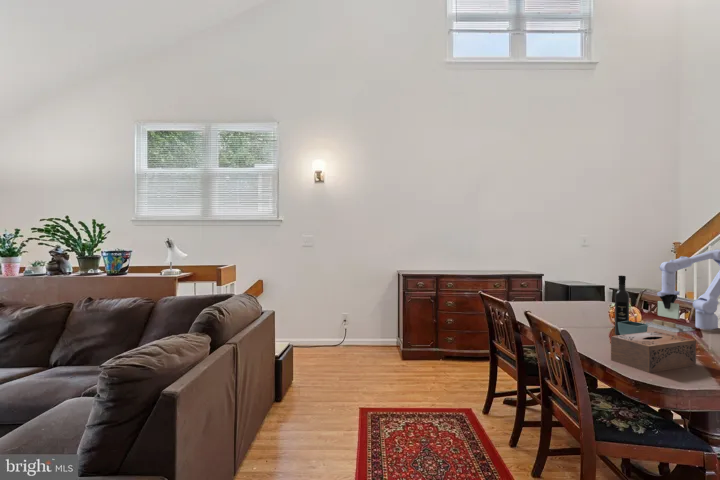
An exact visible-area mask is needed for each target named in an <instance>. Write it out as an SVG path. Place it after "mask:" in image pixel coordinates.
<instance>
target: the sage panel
mask: <svg viewBox="0 0 720 480" xmlns="http://www.w3.org/2000/svg"><path fill="white" fill-rule="evenodd" d="M657 316H659V317H663V318H664V317H665V318H669V319H675V320H680V303H675V302H674V303H671V305H670V309H666V308H665V307H664V304H663V301H662V300H658V301H657Z"/></svg>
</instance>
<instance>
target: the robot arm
mask: <svg viewBox="0 0 720 480" xmlns="http://www.w3.org/2000/svg"><path fill="white" fill-rule="evenodd" d="M706 260H707V261H708V260H713V261H714V262H716V263H717V265H718V267H720V248H716V249H712V250H707V251H705V252H702V253H699V254H696V255H693V256H691V257H688V256H679V258H676V259H669V261H663V262H662V263H661V264H660V266H659V267H658V268H659V270H660V271H661V290H660V291H657V292H656V293H657V294H656V295H657V296H658V297H659V298H660V299H661V301H662V302H663V304H664V307H665V308H666V309H670V305H671V303H675V302H676V300H677V299H678V296H679V295H680V291H678V290H676V272H678V271H679V270H683V269H686V268H690V267H692V265H693V264H694V263H699V262H703V261H706ZM719 297H720V269H719V270H718V272H717V273H716V275H715V276H714V278H713V280H712V281H711V282H710V284H709V286H708V287H707V288H706V290H705V292H704V293H703V294H701V295H700V296H698V298H697V299H695V300H694V301H693V302H692V307H693V308H694V310H695V323H694V324H695V325H694V327H695V328H697V329H701V330H714V329H718V328H719V318H718V316H717V314H716V312H717V309H718V305H719V300H718V299H719Z"/></svg>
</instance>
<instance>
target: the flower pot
mask: <svg viewBox="0 0 720 480" xmlns="http://www.w3.org/2000/svg"><path fill="white" fill-rule="evenodd" d="M618 329H619V333H620V335H626V334H635V333H643V332H648V324H646V323H642V322H637V321H631V320H629V321H623V322H618Z"/></svg>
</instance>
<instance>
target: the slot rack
mask: <svg viewBox="0 0 720 480" xmlns="http://www.w3.org/2000/svg"><path fill="white" fill-rule="evenodd" d="M645 324H648V327H649V328H654V329H657V330H663V331H667V332H671V333H682V332H683V333H684V332H693V331H694V329H693V327H691V326H687V325H681V324H677V323H676V328H672V327H667V326H662V325H657V324H653V321H649V322H647V321H645ZM648 327H647V328H648Z"/></svg>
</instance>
